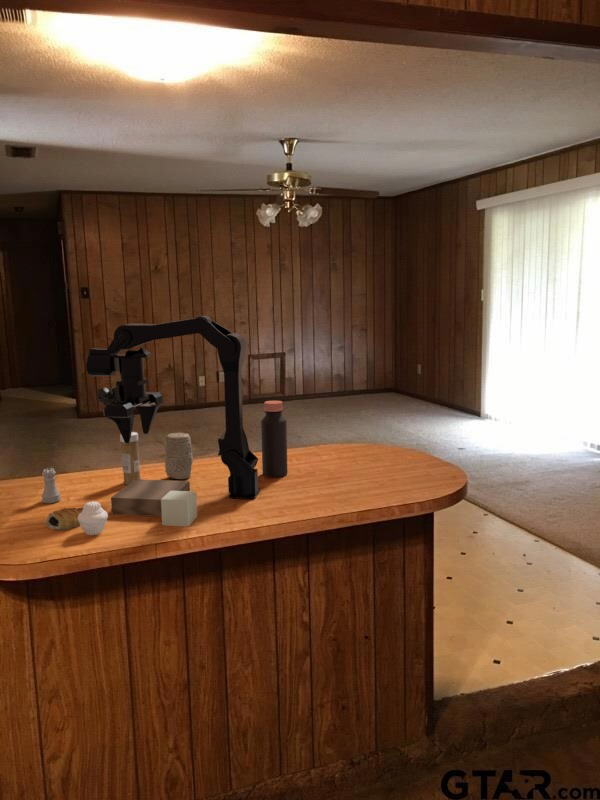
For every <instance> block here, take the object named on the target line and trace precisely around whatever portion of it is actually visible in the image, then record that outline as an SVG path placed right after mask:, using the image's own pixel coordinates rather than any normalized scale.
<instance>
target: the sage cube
mask: <svg viewBox="0 0 600 800" xmlns="http://www.w3.org/2000/svg"><path fill="white" fill-rule="evenodd" d="M161 511H162V516H161V524H162V526H172V527H174V526H175V527H189V526H191V524H192V523H193V522H194V521H195V520H196V519H197V518H196V517H198V505H197V491H193V490H190V491H170V492H168V493H167V494H166V495H165V496H164V497H163V498H162V499H161ZM195 518H196V519H195ZM194 519H195V520H194Z"/></svg>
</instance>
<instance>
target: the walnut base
mask: <svg viewBox="0 0 600 800" xmlns="http://www.w3.org/2000/svg"><path fill="white" fill-rule="evenodd" d="M190 485H191V483H190V480H168V479H167V480H166V479H164V480H163V479H141V478H140V479H135V480H134V481H132V482H131V483H130V484H128V485H126V486H124V487H123V488H122V489H120V490H119V491H118V492H116V493H115V494H113V495H112V496H111V497H110V503H111V514H112V515H118V516H120V515H123V516H140V517H141V516H146V517H162V511H161V499H162V498H163V497H164V496H165V495H166V494H167V493H168V492H170V491H191V486H190Z"/></svg>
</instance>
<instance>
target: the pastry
mask: <svg viewBox="0 0 600 800" xmlns="http://www.w3.org/2000/svg"><path fill="white" fill-rule="evenodd" d="M82 510H83V507H77V508H76V507H68V508H67V507H64V508H60V509H59V510H54V511H52V512H50V513H49V514H48V516H47V517H46V519H45V525H47V528H49V529H50V530H51V529H52V530H57V531H67V530H71V529H72V528H74V527H75V528H77V527H79V526H80V523H79V521H78V516H79V514H80V513H81V512H82Z"/></svg>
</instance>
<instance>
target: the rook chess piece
mask: <svg viewBox="0 0 600 800" xmlns="http://www.w3.org/2000/svg"><path fill="white" fill-rule="evenodd" d="M56 474H57V472H56V470H55V468H52V467H49V468H48V467H46V468H43V470H42V473H41V475H42V476H43V479H42V480H43V482H44V483H43V484H44V487H43V491H42V494H41V498H42V499H41V502H42V503H43V504H55V503H58V502H59V501H61V499H62V497H61V492H60V491H59V490H58V488H57V486H56V477H55V475H56Z"/></svg>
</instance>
